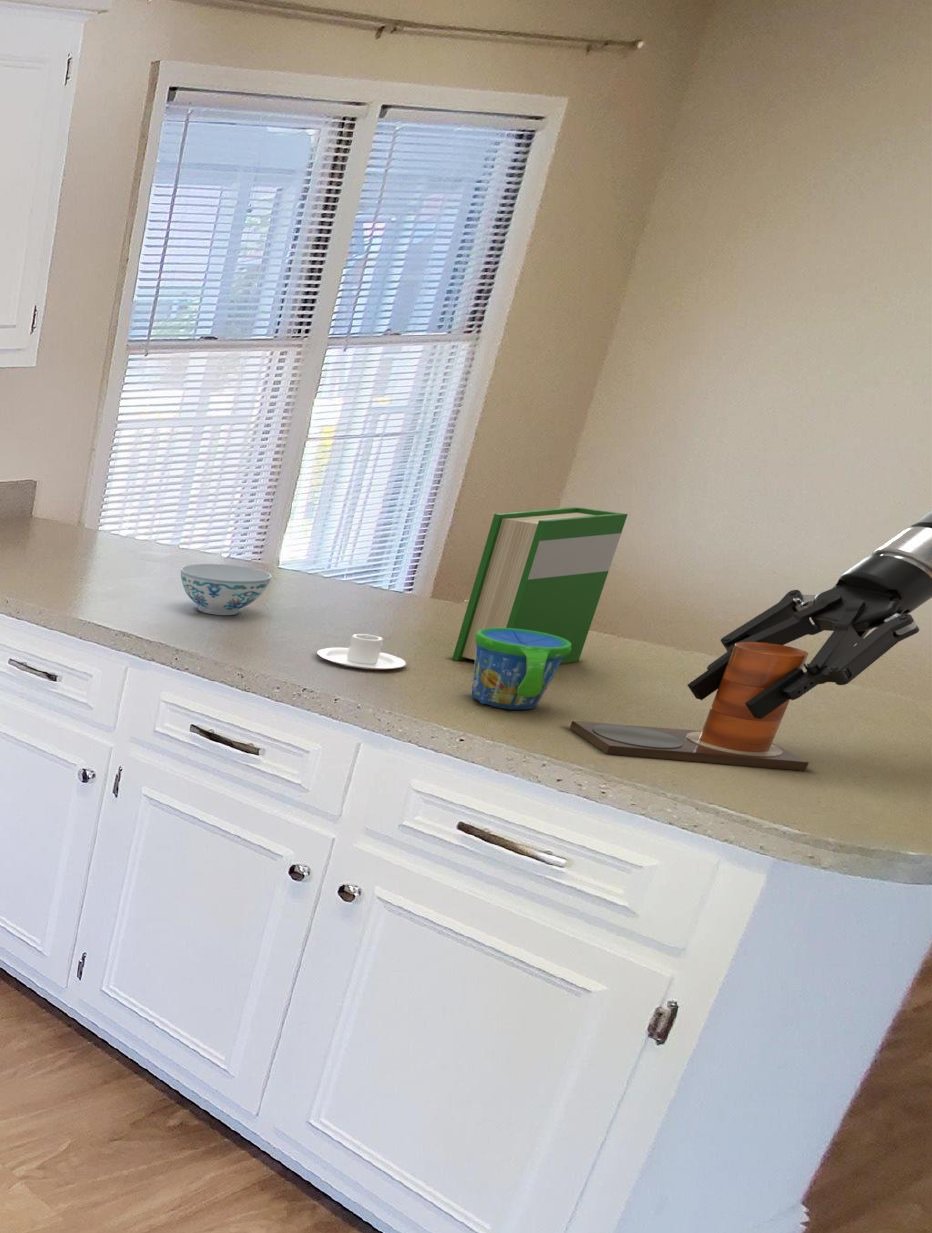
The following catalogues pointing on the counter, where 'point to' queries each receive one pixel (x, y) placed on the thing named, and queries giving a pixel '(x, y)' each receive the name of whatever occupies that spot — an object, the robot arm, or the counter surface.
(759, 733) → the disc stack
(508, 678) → the snack cup
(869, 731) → the counter surface
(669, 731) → the board
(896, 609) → the robot arm
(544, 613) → the hardback book
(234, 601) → the chinaware
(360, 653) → the candle holder
